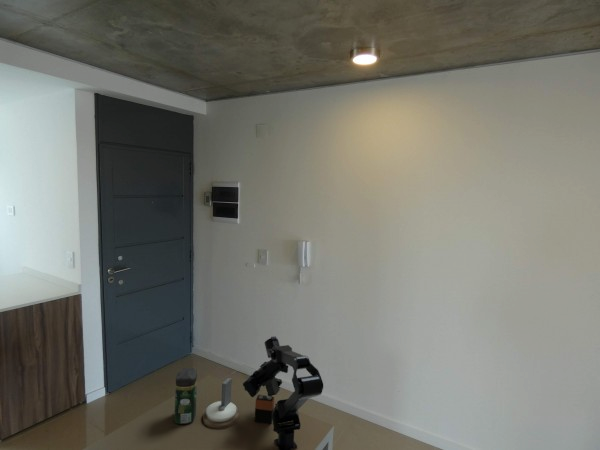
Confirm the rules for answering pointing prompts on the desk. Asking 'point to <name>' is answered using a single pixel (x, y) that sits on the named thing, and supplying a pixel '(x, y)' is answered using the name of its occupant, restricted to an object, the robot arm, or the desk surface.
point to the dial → (222, 405)
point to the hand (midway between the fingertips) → (245, 389)
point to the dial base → (220, 424)
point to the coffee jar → (185, 396)
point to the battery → (264, 409)
